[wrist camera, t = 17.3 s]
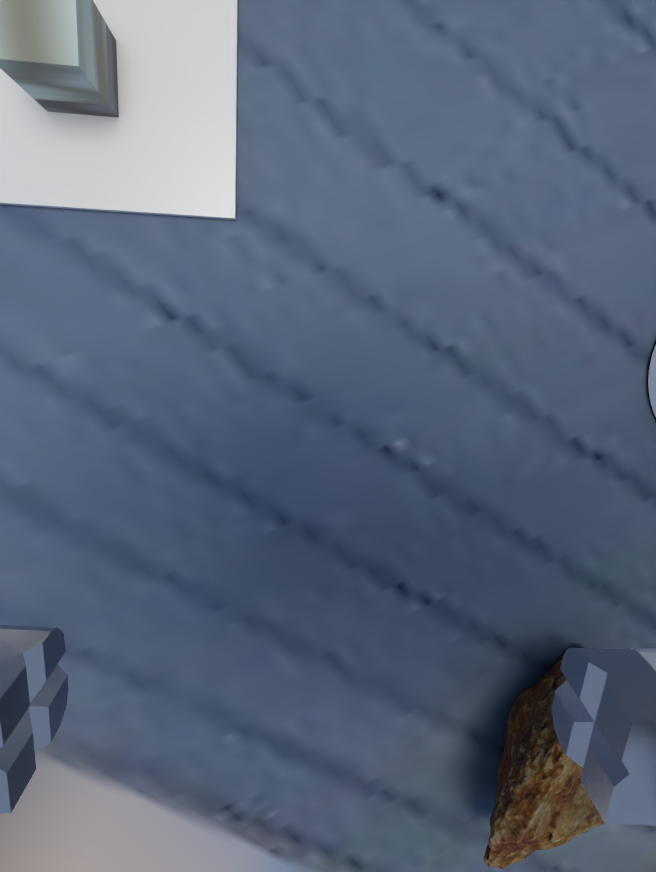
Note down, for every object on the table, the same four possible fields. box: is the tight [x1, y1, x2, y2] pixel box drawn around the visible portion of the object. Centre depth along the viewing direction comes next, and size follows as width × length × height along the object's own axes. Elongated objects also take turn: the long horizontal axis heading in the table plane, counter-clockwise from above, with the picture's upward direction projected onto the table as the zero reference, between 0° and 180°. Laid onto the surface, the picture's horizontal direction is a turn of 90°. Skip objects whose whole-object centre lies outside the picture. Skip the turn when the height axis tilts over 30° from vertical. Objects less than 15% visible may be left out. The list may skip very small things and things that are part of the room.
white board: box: [0, 0, 238, 220], centre depth 34 cm, size 20×16×1 cm
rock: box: [484, 651, 605, 869], centre depth 43 cm, size 20×15×10 cm
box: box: [0, 0, 119, 117], centre depth 30 cm, size 4×4×7 cm
